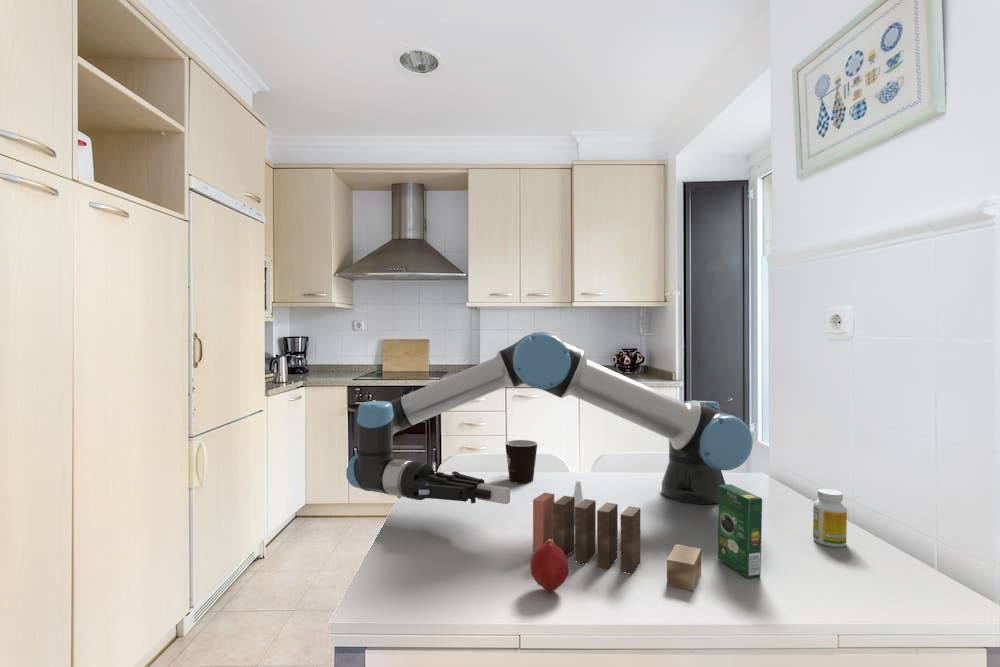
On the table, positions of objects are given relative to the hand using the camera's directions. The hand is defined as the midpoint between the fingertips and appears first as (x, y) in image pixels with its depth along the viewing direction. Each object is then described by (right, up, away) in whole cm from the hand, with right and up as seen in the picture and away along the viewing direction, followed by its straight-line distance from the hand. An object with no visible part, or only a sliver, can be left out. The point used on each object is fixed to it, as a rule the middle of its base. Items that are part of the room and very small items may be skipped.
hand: (508, 496), depth 101 cm
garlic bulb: (+15, -9, +13) cm, 22 cm away
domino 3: (+13, -8, -8) cm, 18 cm away
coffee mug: (+5, -9, +44) cm, 45 cm away
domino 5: (+20, -8, -11) cm, 25 cm away
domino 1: (+6, -8, -4) cm, 11 cm away
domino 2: (+10, -8, -6) cm, 14 cm away
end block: (+28, -8, -16) cm, 33 cm away
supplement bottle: (+61, -9, 0) cm, 61 cm away
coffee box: (+39, -9, -12) cm, 41 cm away
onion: (+6, -9, -20) cm, 22 cm away
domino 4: (+17, -8, -9) cm, 21 cm away
